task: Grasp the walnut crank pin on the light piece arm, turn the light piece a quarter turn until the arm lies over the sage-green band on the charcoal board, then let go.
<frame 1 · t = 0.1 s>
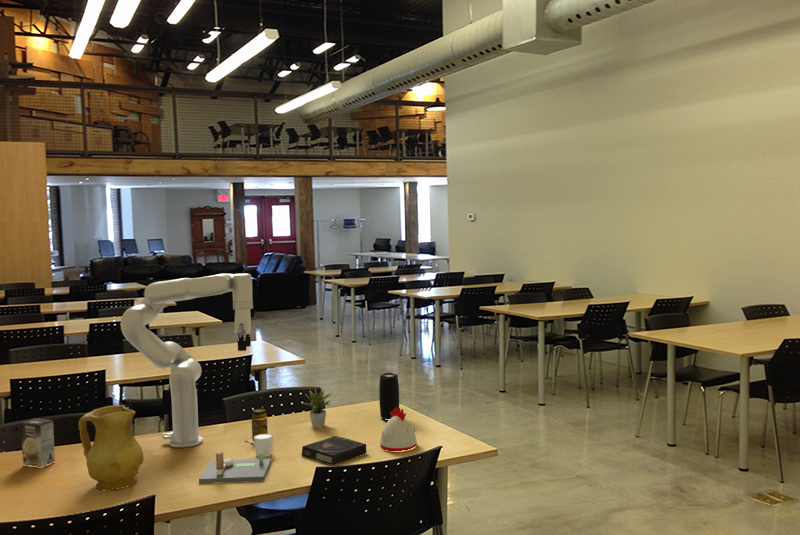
hand: (244, 348, 264), 37 cm above the table, tool pointing down, fingers open, 9 cm apart
coffee box: (39, 465, 243), on the table
flat black box: (334, 456, 247), on the table
pitcher: (115, 484, 222), on the table
portable speaker: (389, 419, 294), on the table
house plant: (319, 427, 283), on the table
condiment: (258, 441, 266), on the table
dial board: (236, 472, 230), on the table
kitchen timer: (398, 447, 255), on the table
white cup: (263, 455, 249), on the table
light piece: (222, 458, 229), point 5 cm above the table, hinge at 0.0°
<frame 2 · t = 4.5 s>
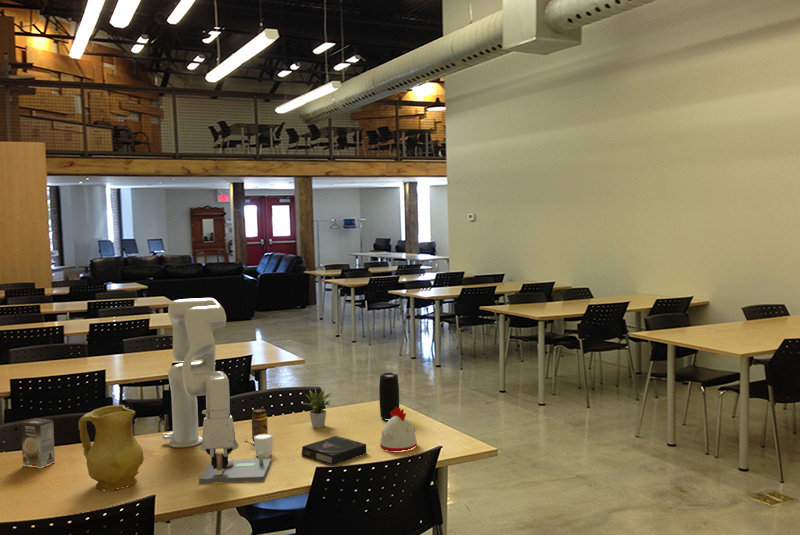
hand: (220, 467, 225), 4 cm above the table, tool pointing down, fingers closed on light piece, 2 cm apart
light piece: (222, 458, 229), point 5 cm above the table, hinge at 0.0°, touching gripper
everything else where it was.
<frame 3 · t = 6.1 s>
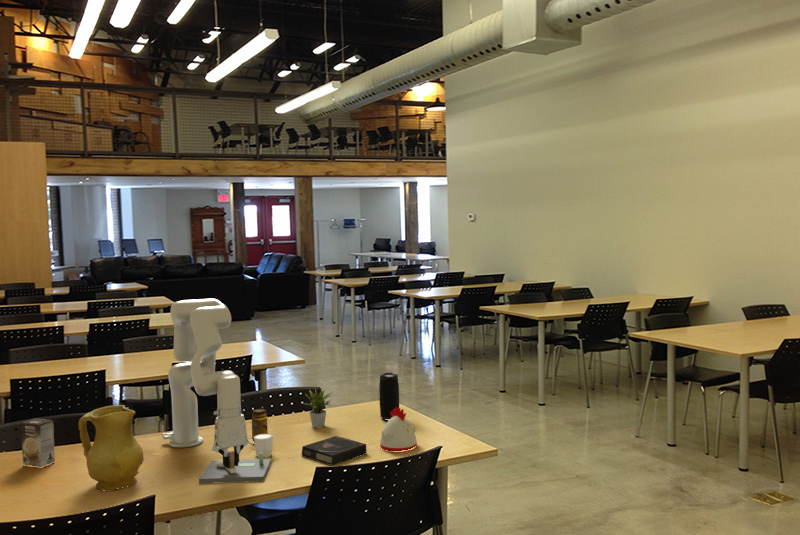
hand: (231, 465, 227), 4 cm above the table, tool pointing down, fingers closed on light piece, 2 cm apart
light piece: (227, 458, 230), point 5 cm above the table, hinge at 28.1°, touching gripper
everything else where it was.
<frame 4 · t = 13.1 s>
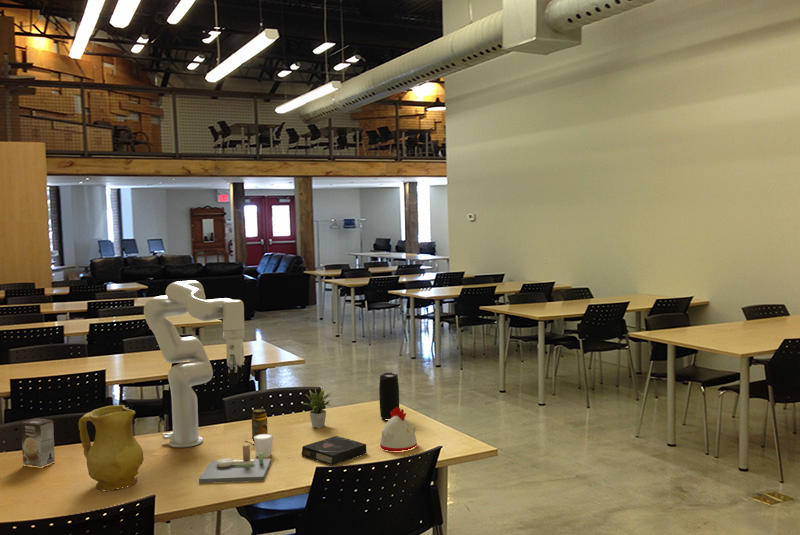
hand: (235, 380, 245), 28 cm above the table, tool pointing down, fingers open, 9 cm apart
light piece: (235, 455, 233), point 5 cm above the table, hinge at 89.7°
everything else where it was.
at the end: light piece at +90° (first picture: +0°); the gripper is holding nothing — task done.
